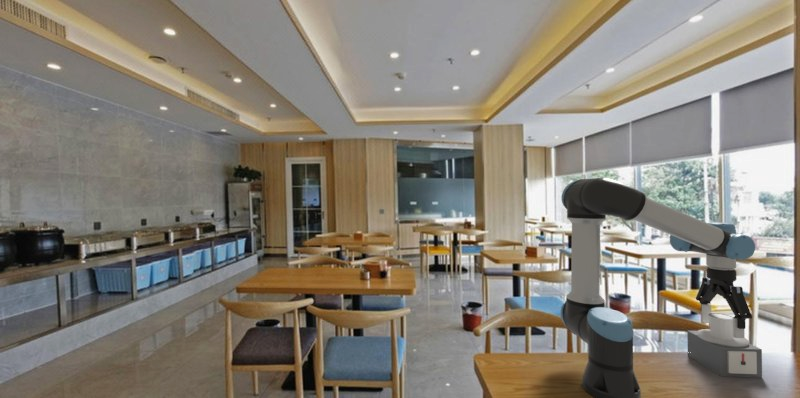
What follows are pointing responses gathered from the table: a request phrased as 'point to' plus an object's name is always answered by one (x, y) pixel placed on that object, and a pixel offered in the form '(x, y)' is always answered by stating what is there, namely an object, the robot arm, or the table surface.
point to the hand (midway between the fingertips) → (721, 329)
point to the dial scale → (725, 354)
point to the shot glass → (721, 326)
